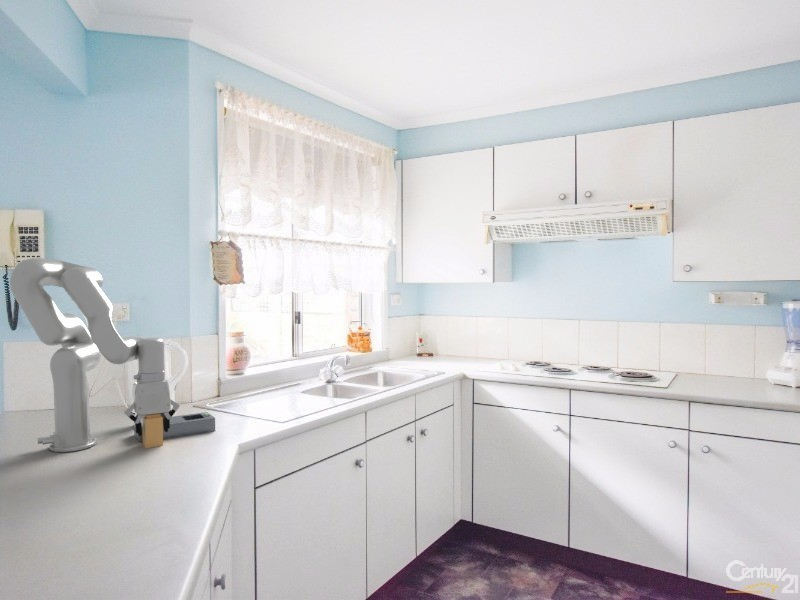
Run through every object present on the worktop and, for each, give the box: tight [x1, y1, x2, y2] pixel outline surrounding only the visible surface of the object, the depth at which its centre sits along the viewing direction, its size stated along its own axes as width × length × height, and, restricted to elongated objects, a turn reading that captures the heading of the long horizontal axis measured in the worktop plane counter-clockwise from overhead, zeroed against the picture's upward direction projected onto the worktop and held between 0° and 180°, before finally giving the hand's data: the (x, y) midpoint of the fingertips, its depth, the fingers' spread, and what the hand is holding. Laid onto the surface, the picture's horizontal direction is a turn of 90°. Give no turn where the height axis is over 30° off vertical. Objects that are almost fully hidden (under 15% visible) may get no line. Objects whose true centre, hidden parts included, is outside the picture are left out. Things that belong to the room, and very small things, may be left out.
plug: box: [142, 413, 164, 449], centre depth 177 cm, size 5×5×10 cm
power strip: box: [133, 411, 216, 443], centre depth 190 cm, size 24×10×10 cm, turn 125°
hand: (152, 432), depth 177 cm, fingers open, 7 cm apart
